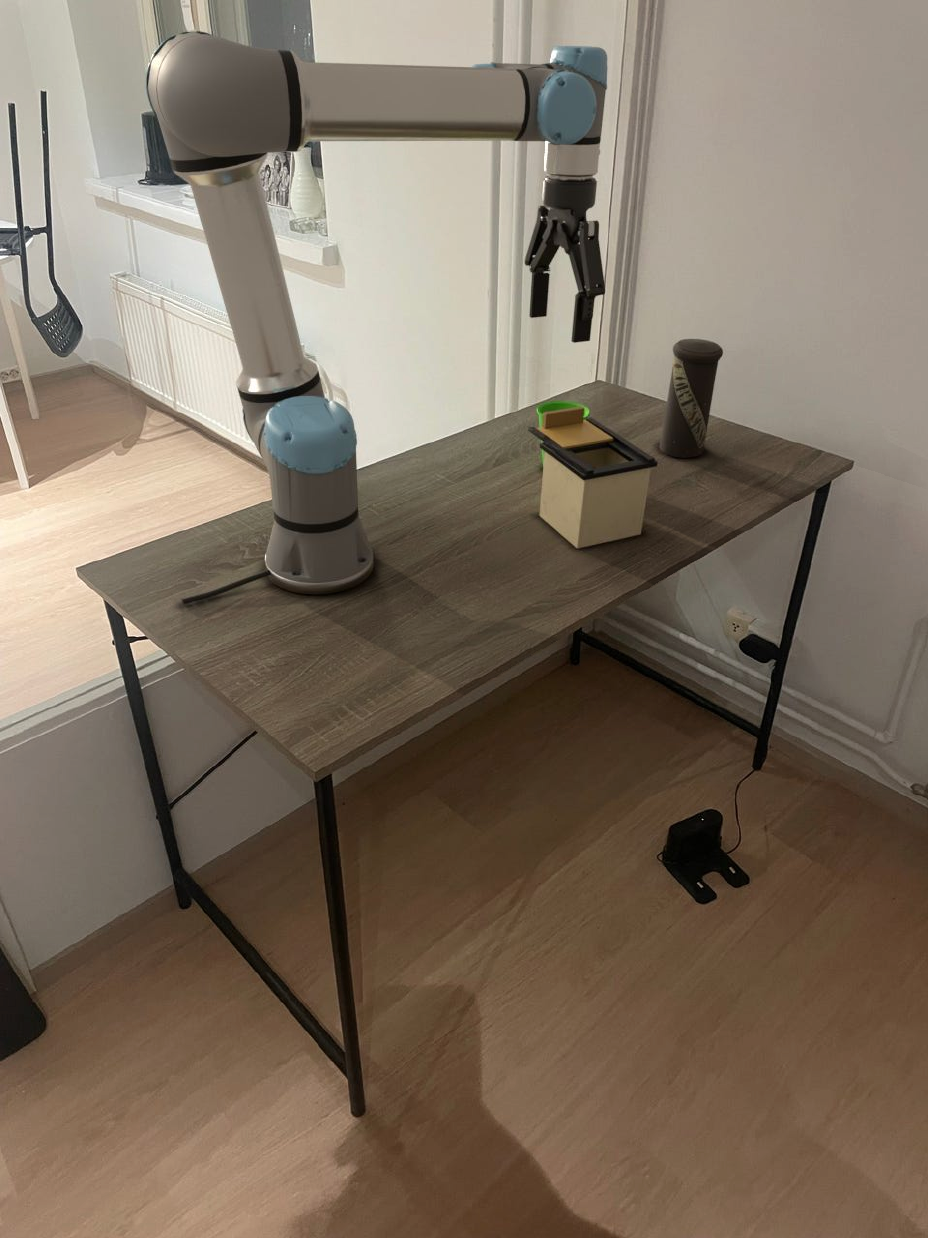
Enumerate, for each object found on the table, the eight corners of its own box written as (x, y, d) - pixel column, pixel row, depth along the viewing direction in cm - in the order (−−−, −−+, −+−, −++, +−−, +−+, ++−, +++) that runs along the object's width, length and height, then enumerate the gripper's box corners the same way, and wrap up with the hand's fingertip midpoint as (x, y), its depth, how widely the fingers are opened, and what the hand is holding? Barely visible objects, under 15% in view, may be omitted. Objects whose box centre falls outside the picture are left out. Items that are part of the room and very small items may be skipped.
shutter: (562, 449, 137) (564, 431, 135) (536, 429, 143) (537, 412, 141) (613, 440, 140) (615, 423, 139) (584, 421, 146) (586, 405, 145)
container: (654, 455, 167) (671, 346, 156) (660, 437, 174) (676, 332, 163) (702, 462, 165) (722, 352, 154) (706, 443, 172) (726, 337, 161)
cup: (585, 481, 157) (592, 420, 151) (533, 479, 157) (537, 419, 151) (581, 459, 164) (587, 401, 158) (531, 458, 164) (535, 399, 158)
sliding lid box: (575, 551, 136) (584, 471, 129) (520, 502, 149) (525, 427, 142) (646, 535, 141) (658, 457, 134) (586, 489, 154) (594, 416, 147)
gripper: (642, 188, 119) (622, 349, 131) (551, 162, 138) (542, 305, 150) (592, 191, 117) (577, 355, 129) (507, 164, 136) (501, 309, 147)
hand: (558, 328), depth 139 cm, fingers open, 13 cm apart
